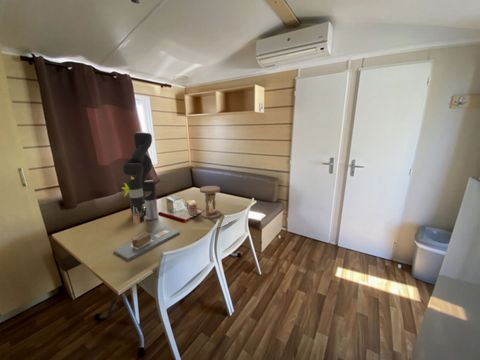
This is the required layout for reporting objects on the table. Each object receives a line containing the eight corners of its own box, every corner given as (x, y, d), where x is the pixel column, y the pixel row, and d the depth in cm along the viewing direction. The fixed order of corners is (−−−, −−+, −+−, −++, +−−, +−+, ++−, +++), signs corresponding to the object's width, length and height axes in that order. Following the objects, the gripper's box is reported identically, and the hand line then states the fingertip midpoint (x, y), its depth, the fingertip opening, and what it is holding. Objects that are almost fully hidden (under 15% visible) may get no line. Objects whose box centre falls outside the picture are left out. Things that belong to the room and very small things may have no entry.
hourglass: (213, 221, 168) (212, 192, 163) (196, 216, 177) (195, 189, 171) (224, 213, 183) (224, 187, 178) (209, 210, 192) (208, 184, 186)
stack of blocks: (186, 209, 193) (185, 197, 190) (193, 209, 195) (192, 196, 193) (190, 218, 174) (189, 204, 171) (197, 217, 176) (196, 204, 173)
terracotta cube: (133, 222, 127) (132, 215, 126) (141, 219, 131) (140, 212, 130) (138, 224, 125) (137, 216, 123) (145, 221, 129) (144, 213, 128)
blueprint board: (113, 252, 124) (113, 249, 124) (165, 228, 156) (164, 226, 155) (128, 260, 116) (128, 257, 116) (179, 233, 147) (179, 231, 147)
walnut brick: (133, 246, 127) (132, 239, 126) (144, 238, 137) (144, 232, 136) (139, 247, 126) (138, 240, 125) (150, 240, 135) (150, 233, 134)
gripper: (123, 195, 125) (127, 220, 128) (137, 199, 117) (140, 226, 121) (135, 192, 131) (138, 216, 135) (149, 195, 123) (152, 221, 127)
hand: (139, 221), depth 128 cm, fingers closed on terracotta cube, 5 cm apart
